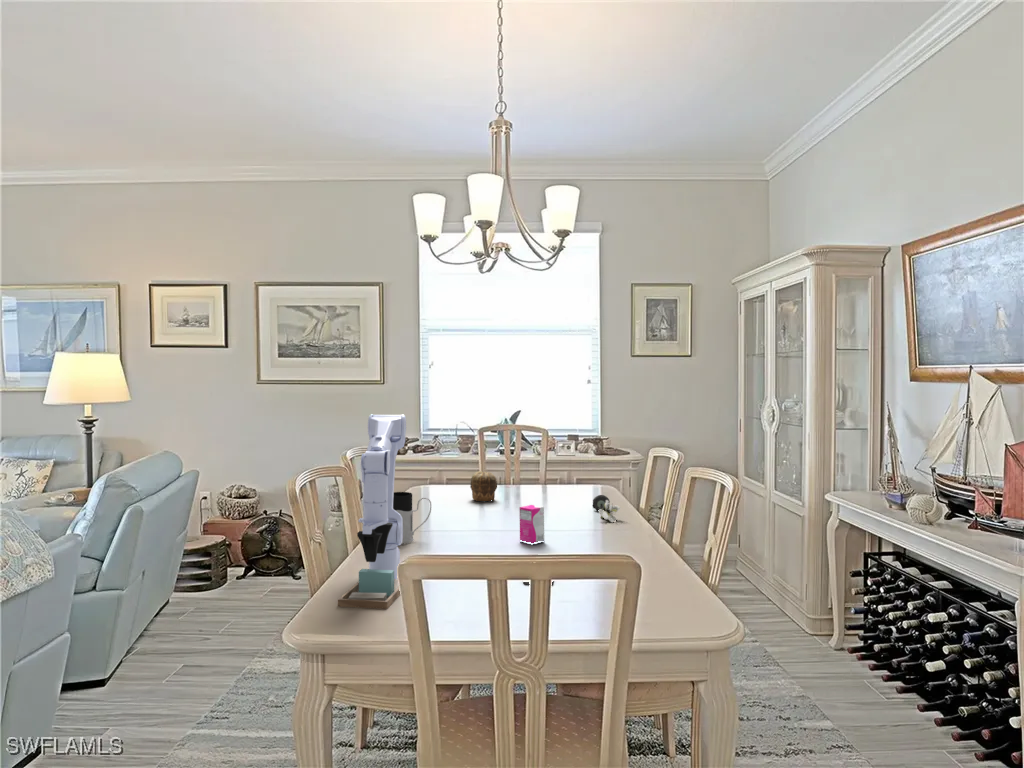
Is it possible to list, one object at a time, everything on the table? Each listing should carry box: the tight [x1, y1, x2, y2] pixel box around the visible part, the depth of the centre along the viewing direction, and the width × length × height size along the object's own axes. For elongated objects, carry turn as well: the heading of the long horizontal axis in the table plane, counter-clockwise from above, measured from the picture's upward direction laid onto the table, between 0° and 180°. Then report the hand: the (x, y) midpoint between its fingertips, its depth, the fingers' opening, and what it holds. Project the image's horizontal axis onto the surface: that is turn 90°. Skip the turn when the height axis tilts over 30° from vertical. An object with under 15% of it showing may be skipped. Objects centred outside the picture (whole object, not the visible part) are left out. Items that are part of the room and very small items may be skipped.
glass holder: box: [393, 491, 432, 545], centre depth 244 cm, size 9×14×15 cm, turn 95°
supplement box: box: [519, 504, 545, 543], centre depth 243 cm, size 6×6×12 cm
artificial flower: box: [592, 494, 622, 523], centre depth 284 cm, size 9×22×10 cm, turn 177°
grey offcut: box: [349, 591, 388, 601], centre depth 177 cm, size 4×8×2 cm, turn 89°
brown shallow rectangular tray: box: [337, 581, 401, 610], centre depth 180 cm, size 14×12×3 cm
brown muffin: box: [469, 471, 498, 502], centre depth 314 cm, size 11×11×12 cm
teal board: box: [358, 568, 395, 597], centre depth 184 cm, size 2×8×7 cm, turn 82°
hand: (375, 557), depth 183 cm, fingers open, 7 cm apart
